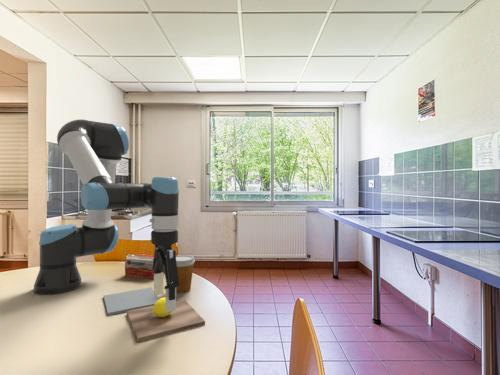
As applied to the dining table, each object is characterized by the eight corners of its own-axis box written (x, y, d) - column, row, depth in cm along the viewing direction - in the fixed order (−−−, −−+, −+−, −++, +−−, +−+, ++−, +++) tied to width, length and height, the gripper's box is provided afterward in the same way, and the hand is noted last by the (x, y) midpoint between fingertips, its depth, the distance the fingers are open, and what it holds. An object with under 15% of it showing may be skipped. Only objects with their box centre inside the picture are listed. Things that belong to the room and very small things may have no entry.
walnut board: (126, 314, 87) (126, 311, 87) (184, 302, 96) (184, 299, 96) (137, 342, 72) (137, 338, 72) (205, 324, 81) (205, 321, 81)
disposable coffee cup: (171, 285, 113) (171, 255, 112) (196, 284, 113) (196, 254, 113) (166, 294, 103) (166, 261, 103) (193, 294, 104) (193, 261, 104)
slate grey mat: (103, 297, 100) (103, 295, 100) (151, 289, 108) (151, 287, 108) (107, 315, 86) (107, 313, 86) (161, 304, 95) (161, 302, 95)
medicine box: (124, 276, 124) (124, 258, 124) (135, 271, 132) (136, 253, 132) (156, 279, 121) (156, 260, 121) (165, 273, 129) (166, 255, 129)
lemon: (158, 324, 80) (156, 306, 80) (150, 317, 84) (147, 300, 83) (180, 313, 85) (178, 296, 84) (171, 307, 89) (169, 291, 88)
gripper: (142, 225, 93) (142, 290, 93) (162, 237, 71) (162, 322, 72) (166, 223, 97) (165, 286, 97) (191, 235, 75) (191, 315, 75)
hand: (164, 301), depth 84 cm, fingers open, 13 cm apart
